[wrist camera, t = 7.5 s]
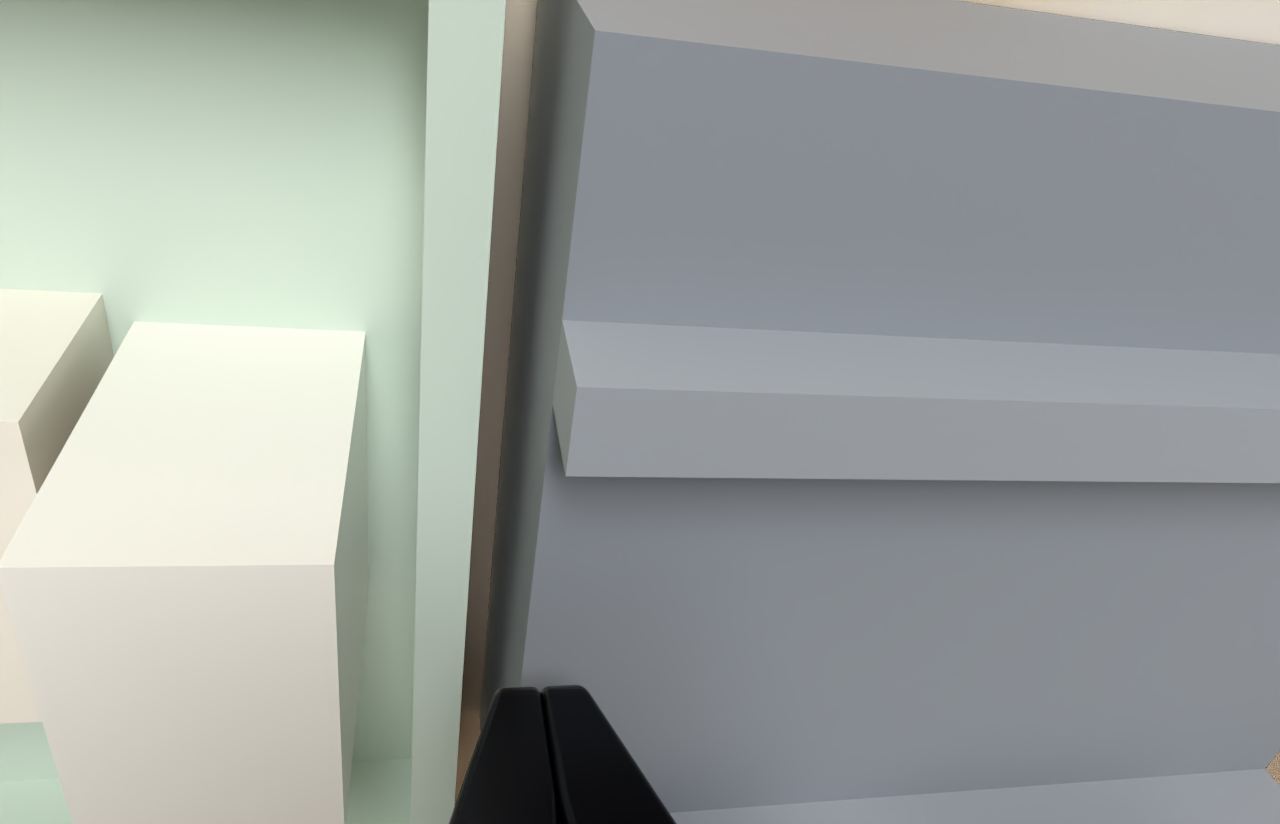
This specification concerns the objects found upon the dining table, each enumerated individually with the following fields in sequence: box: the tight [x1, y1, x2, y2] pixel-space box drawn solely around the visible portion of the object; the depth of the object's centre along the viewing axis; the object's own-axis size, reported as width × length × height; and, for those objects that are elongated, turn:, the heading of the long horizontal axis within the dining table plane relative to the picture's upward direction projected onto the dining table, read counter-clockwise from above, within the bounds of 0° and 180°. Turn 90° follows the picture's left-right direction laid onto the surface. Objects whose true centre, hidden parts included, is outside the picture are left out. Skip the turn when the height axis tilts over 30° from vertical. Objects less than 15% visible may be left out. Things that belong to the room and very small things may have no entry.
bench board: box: [480, 0, 1280, 824], centre depth 12 cm, size 11×12×5 cm
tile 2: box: [0, 322, 369, 824], centre depth 10 cm, size 4×4×2 cm
